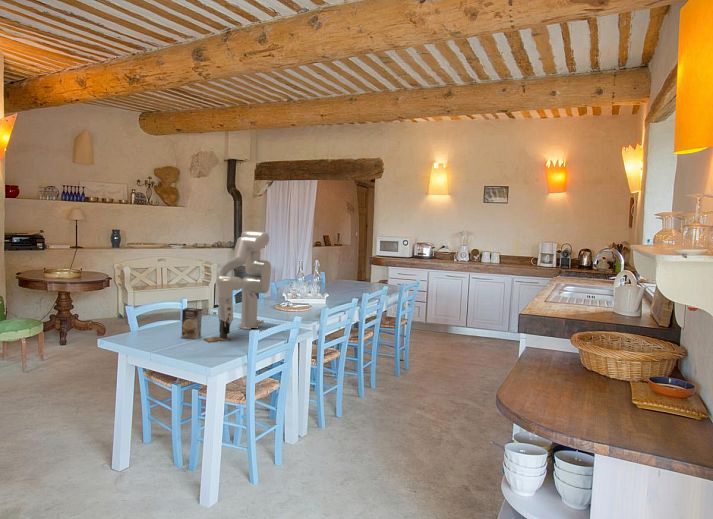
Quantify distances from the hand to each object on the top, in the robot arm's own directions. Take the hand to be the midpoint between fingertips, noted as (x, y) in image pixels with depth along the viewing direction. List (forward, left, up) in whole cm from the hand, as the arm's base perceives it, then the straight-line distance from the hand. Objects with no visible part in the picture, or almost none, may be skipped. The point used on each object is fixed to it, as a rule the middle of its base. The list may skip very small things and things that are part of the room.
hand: (224, 332), depth 278 cm
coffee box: (+14, -12, -4) cm, 19 cm away
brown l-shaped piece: (+4, 0, -4) cm, 6 cm away
